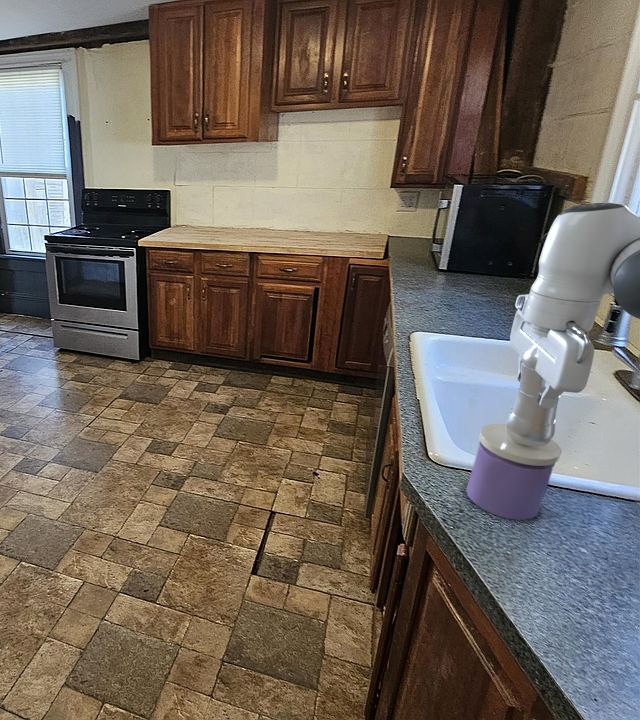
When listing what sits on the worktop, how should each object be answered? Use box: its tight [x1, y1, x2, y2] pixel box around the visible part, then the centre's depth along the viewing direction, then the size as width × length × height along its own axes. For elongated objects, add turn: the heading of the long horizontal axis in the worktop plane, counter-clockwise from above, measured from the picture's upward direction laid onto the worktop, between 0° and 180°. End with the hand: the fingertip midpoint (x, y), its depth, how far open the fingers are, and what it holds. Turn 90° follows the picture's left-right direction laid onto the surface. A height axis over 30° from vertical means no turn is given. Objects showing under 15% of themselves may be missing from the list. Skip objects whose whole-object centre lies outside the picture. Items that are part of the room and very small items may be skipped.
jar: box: [465, 423, 562, 521], centre depth 92 cm, size 12×12×12 cm
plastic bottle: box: [505, 335, 561, 447], centre depth 85 cm, size 6×7×20 cm
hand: (533, 393), depth 86 cm, fingers open, 8 cm apart
